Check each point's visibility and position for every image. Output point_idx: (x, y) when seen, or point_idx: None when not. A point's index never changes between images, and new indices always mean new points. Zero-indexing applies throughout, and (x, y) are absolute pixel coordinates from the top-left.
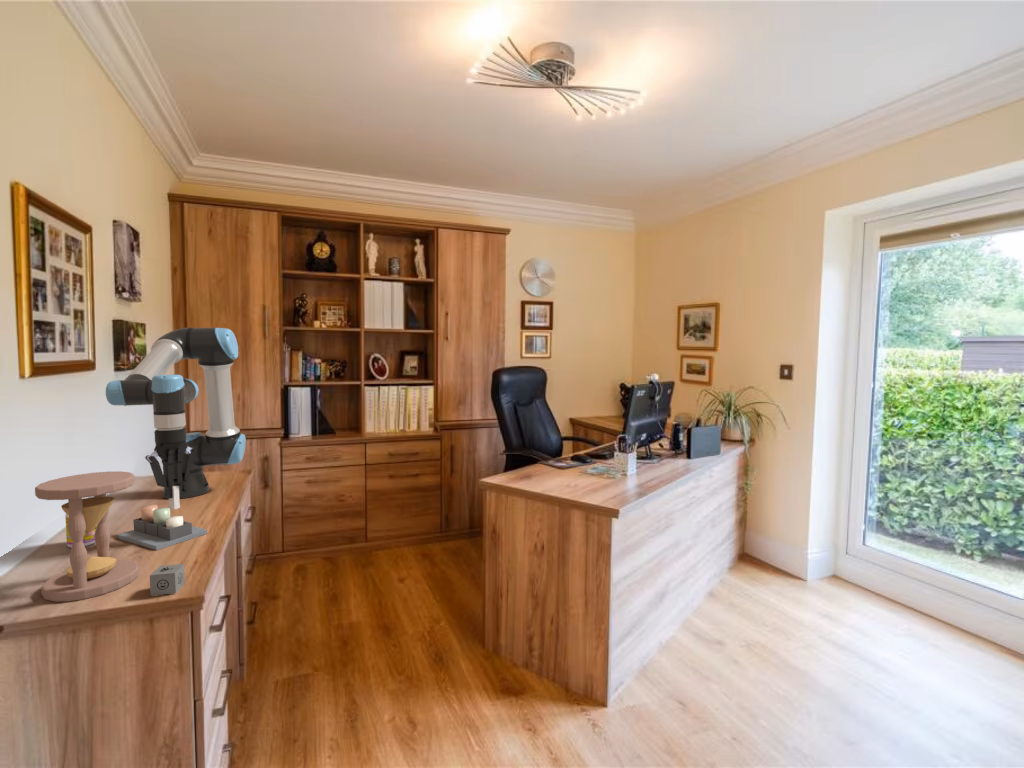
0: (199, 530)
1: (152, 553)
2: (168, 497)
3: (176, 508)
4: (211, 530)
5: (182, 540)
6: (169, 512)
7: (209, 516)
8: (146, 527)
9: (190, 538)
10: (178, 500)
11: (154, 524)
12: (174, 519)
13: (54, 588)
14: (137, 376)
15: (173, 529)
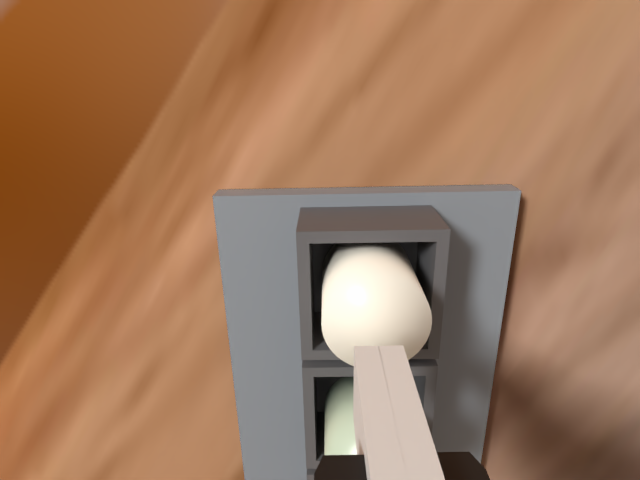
0: (243, 225)
1: (549, 158)
2: (480, 466)
3: (386, 346)
4: (174, 221)
5: (366, 188)
6: (342, 437)
7: (79, 432)
8: None
9: (318, 189)
10: (373, 397)
11: (424, 404)
12: (397, 292)
13: None
14: None
15: (424, 226)
